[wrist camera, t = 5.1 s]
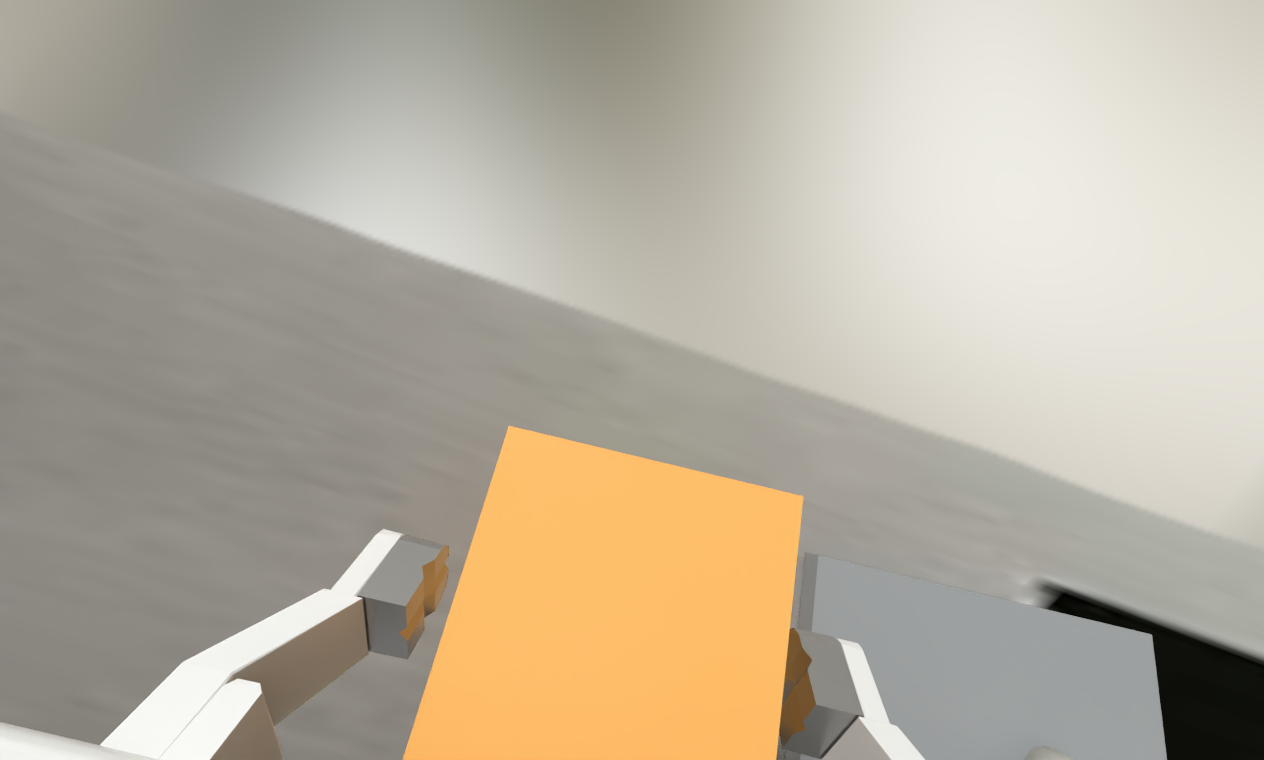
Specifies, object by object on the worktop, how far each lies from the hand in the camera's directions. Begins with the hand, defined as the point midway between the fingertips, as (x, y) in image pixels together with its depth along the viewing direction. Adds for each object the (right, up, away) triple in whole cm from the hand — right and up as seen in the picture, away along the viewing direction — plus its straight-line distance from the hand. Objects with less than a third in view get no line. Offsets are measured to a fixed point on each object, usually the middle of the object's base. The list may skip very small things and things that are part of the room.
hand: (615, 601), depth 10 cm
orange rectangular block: (0, -1, +5) cm, 5 cm away
